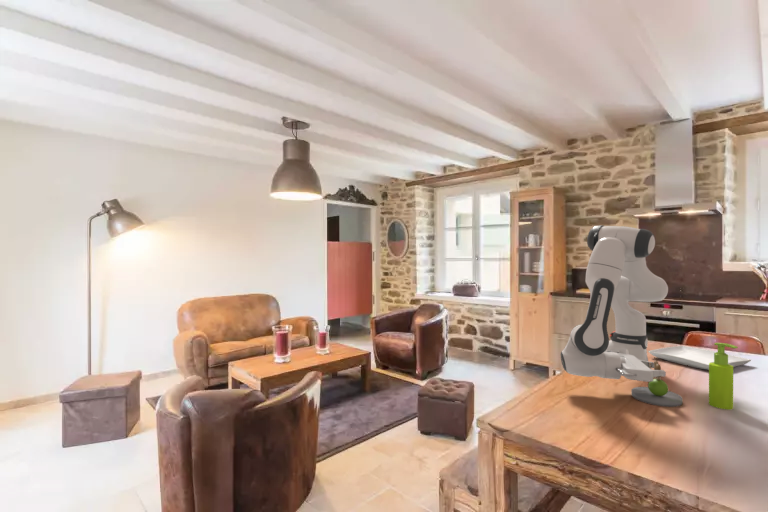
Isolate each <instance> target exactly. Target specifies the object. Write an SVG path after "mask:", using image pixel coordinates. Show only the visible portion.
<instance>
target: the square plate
mask: <svg viewBox="0 0 768 512" xmlns="http://www.w3.org/2000/svg"><path fill="white" fill-rule="evenodd" d="M716 352H717V351H715V350H710V349H703V348H697V347H693V346H692V347H691V346H686V345H677V346H669V347H668V346H667V347H662V348H661V347H660V348H657V349H651V350H647V353H649V354H650V355H652V356H653V357H658V359H661V360H664V361H667V362H672V363H675V364H678V365H679V364H680V365H683V366H687V365H688V367H691V368H695V369H696V368H697V369H701V370H704V371H705V370H706V371H709V363H711V362H714V353H716ZM751 361H752V359H750V358H745V357H741V356H736V355H731V354H728V364H729V365H732V366H733V368H734V367H739V366H744V365H747V364H749V363H750V362H751Z"/></svg>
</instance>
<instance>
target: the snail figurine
mask: <svg viewBox="0 0 768 512" xmlns="http://www.w3.org/2000/svg"><path fill="white" fill-rule="evenodd" d="M653 359H654V361H653V363H654V368H653V370H658V369H659V370H662V368H661V364H660V363H659V361H658V359H659V358H658V357H655V356H653ZM661 377H662V376H658V377H655V378H653V381H651V382H648V384H647V387H648V388H649V390H650V392H651V393H652V394H654V395H656V396H663V395H665V394H667V392H668V391H669V386H668V384H667V383H666V381H664V380H662V379H661Z"/></svg>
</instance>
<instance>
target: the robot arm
mask: <svg viewBox="0 0 768 512" xmlns="http://www.w3.org/2000/svg"><path fill="white" fill-rule="evenodd" d="M655 238H656V237H655V235H654V233H653V232H652V231H651V230H648V229H645V228H637V227H631V226H623V225H621V226H620V225H619V226H618V225H605V224H602V225H594V226H593V227H591V228H590V229H589V232H588V235H587V239H586V244H587V247H588V249H590V251H592V252H591V254H590V256H589V259H588V262H587V266H586V271H585V280H584V282H585V284H586V286H587V288H588V290H589V293H590V299H589V303H588V307H587V308H588V309H587V311H586V316H585V320H584V322H583V323H582V324H577V325H576V326H574V327H573V328H572V329H571V332H570V334H569V337H568V340H567V342H566V344H565V347H564V348H563V349H562V351H561V352H560V360H561V366H562V368H563V370H564V371H565V372H566V373H567V374H569V375H573V376H578V377H579V376H580V377H586V378H590V377H598V378H601V379H608V380H609V379H610V380H611V379H613V380H620V379H621V377H624V378H625V379H627V380H629V381H630V380H631V381H637V382H646V383H647V382H648V383H649V382H651V381H653V379H654V378H656V377H658V376H661V377H666V375H667V374H666V372H667V371H665V370H664V369H661V370H659V369H658V370H654V361H649V358H648V350H647V349H648V343H649V342H648V334H647V318H646V315H645V313H643V312H641V311H639V310H638V309H635V308H633V307H632V306H631V305H630V304H629V302H642V303H643V302H644V303H652V302H653V303H654V302H655V303H656V302H662V301H663V300H664V299H665V298H666V297H667V295H668V292H669V286H668V284H667V282H666V280H665V279H664V278H662V277H660V276H658V275H656V274H654V273H653V272H652V271H651V270H650V269H649V267H648V265H647V262H646V261H647V260H646V258H647V257H648V256H650V255H651V254H652V252H653V251H654V248H655V246H656V239H655ZM611 309H612V311H613V315H614V320H615V321H614V322H615V324H614V325H615V328H614V329H615V330H613V331H612V332H611V333H608V320H609V315H610V311H611ZM609 338H610V339H609Z"/></svg>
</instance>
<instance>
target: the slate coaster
mask: <svg viewBox="0 0 768 512" xmlns="http://www.w3.org/2000/svg"><path fill="white" fill-rule="evenodd" d="M630 395H631V396H632V398H634V399H635V400H637V401H639V402H642V403H646V404H649V405H653V406H658V407H668V408H674V407H675V408H676V407H681V406H682V405H683V397H682V396H681V395H680V394H678V393H676V392H673V391H671V390H668V392H667V394H665V395H663V396H656V395H654V394H652V393H651V392H650V390H649V388H648V386H636V387H633V388H631V393H630Z"/></svg>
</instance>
